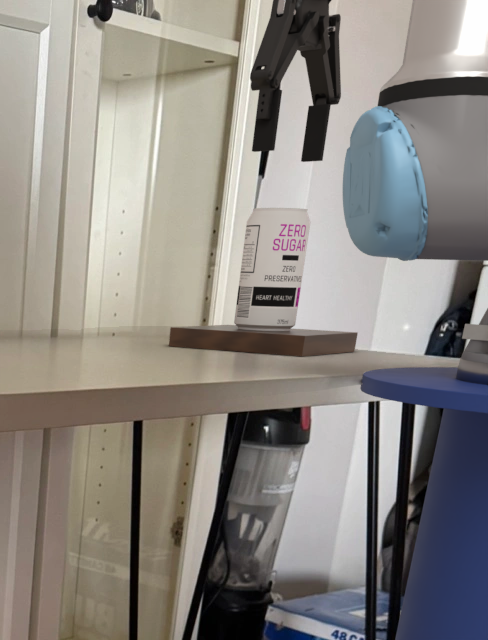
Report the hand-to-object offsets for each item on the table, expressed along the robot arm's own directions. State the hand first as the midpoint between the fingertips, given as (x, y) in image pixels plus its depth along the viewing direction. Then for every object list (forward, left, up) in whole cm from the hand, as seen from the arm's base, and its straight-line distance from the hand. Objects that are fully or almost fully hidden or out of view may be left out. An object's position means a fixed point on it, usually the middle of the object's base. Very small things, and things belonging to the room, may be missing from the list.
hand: (288, 156), depth 134 cm
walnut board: (0, 0, -24) cm, 24 cm away
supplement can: (0, 0, -21) cm, 21 cm away
